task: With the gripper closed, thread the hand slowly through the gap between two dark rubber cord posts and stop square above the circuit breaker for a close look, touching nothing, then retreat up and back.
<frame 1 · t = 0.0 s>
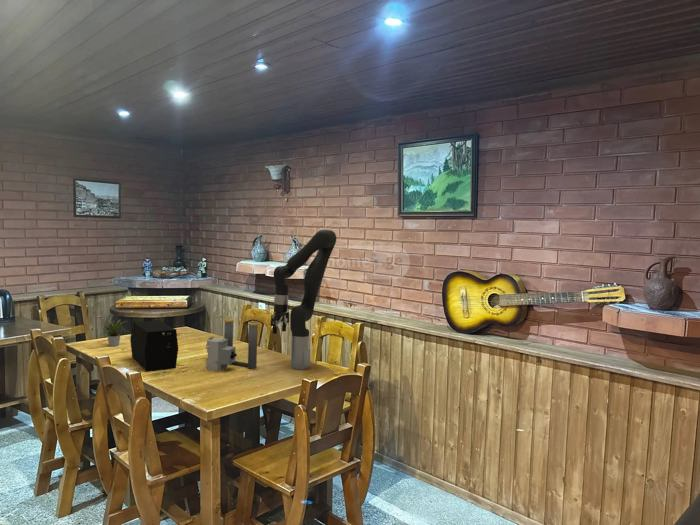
hand: (279, 332, 269), 17 cm above the table, tool pointing down, fingers open, 8 cm apart
uninterruptible power supply: (153, 363, 262), on the table
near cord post: (252, 367, 260), on the table
house plant: (116, 345, 299), on the table
circuit breaker: (222, 369, 256), on the table
mortar and pestle: (215, 360, 274), on the table
floor cable: (239, 365, 264), on the table
far cord post: (228, 363, 267), on the table
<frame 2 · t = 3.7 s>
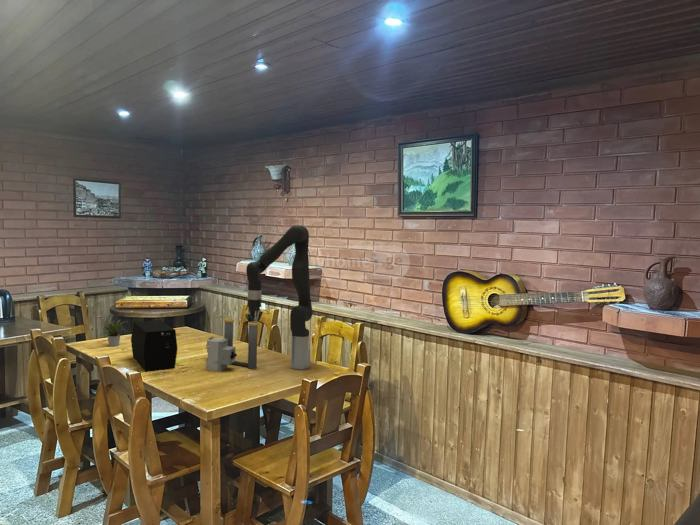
hand: (253, 329, 273), 18 cm above the table, tool pointing down, fingers closed
nothing on the table moved.
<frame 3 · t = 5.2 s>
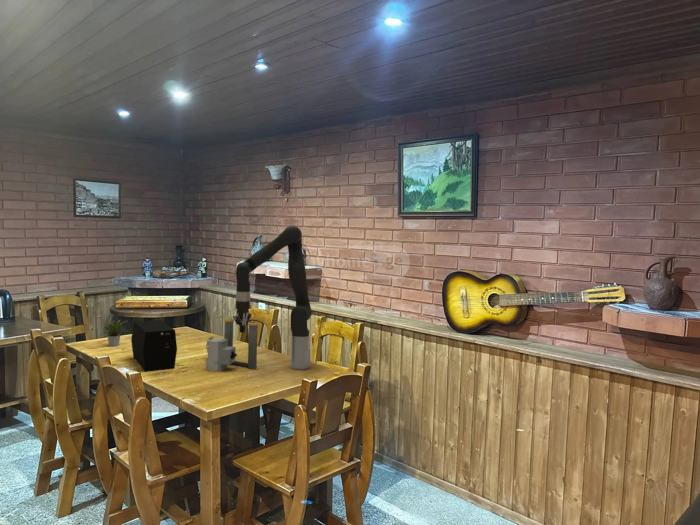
hand: (242, 332, 264), 18 cm above the table, tool pointing down, fingers closed
nothing on the table moved.
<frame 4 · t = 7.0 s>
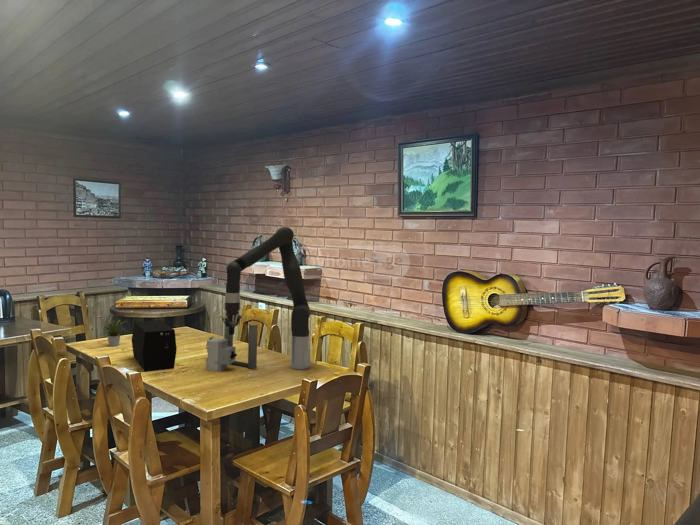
hand: (231, 334, 257), 18 cm above the table, tool pointing down, fingers closed
nothing on the table moved.
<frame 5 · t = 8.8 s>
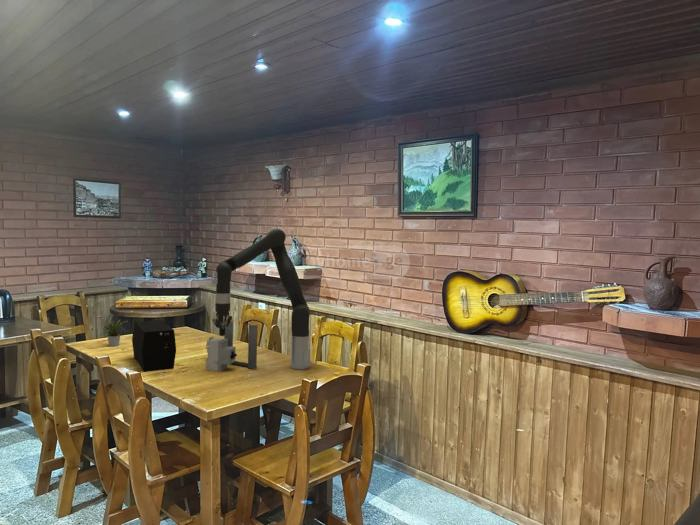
hand: (222, 335, 254), 18 cm above the table, tool pointing down, fingers closed
nothing on the table moved.
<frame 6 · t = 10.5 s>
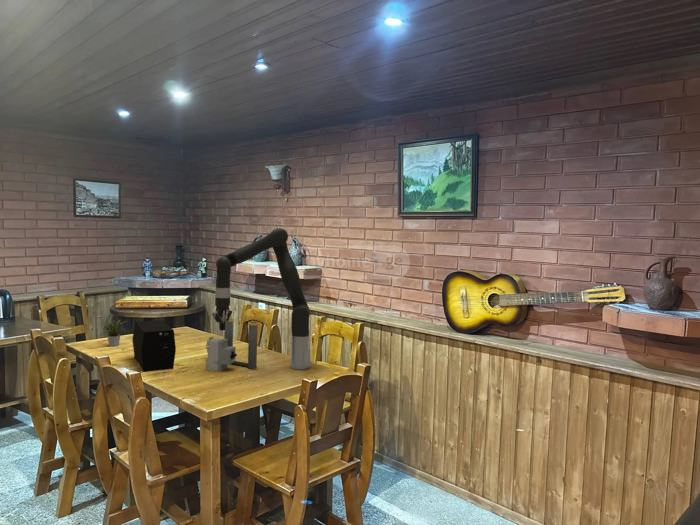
hand: (222, 330, 254), 20 cm above the table, tool pointing down, fingers closed
nothing on the table moved.
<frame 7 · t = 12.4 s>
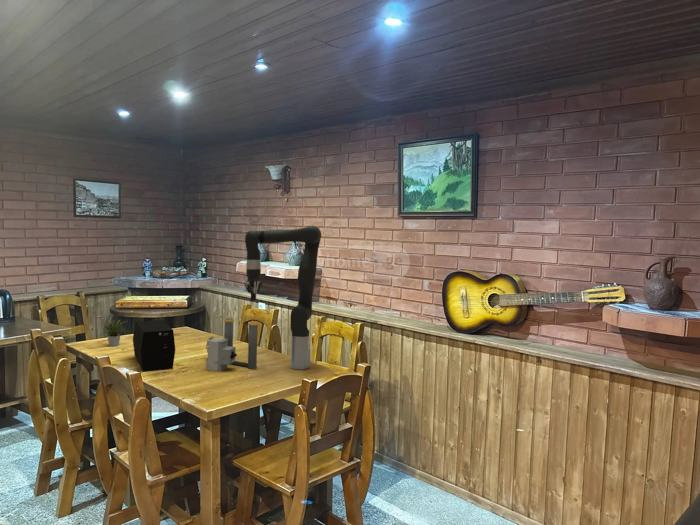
hand: (253, 300, 266), 34 cm above the table, tool pointing down, fingers closed
nothing on the table moved.
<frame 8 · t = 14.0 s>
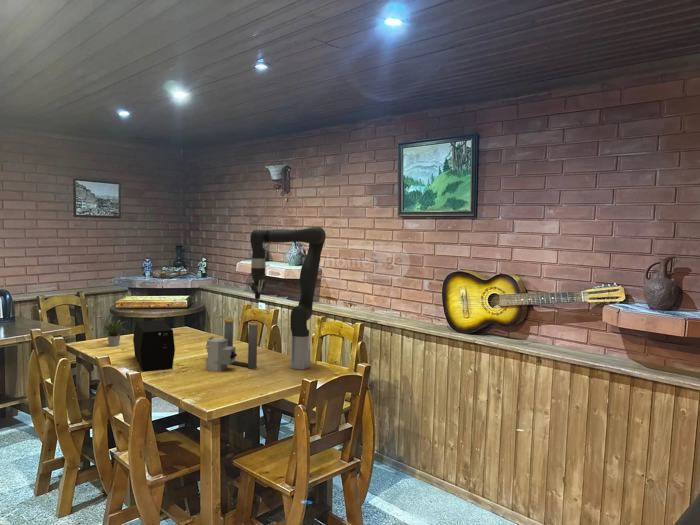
hand: (257, 299, 268), 35 cm above the table, tool pointing down, fingers closed
at the end: circuit breaker moved 0.2 cm from its start; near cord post moved 0.0 cm from its start; far cord post moved 0.0 cm from its start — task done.
